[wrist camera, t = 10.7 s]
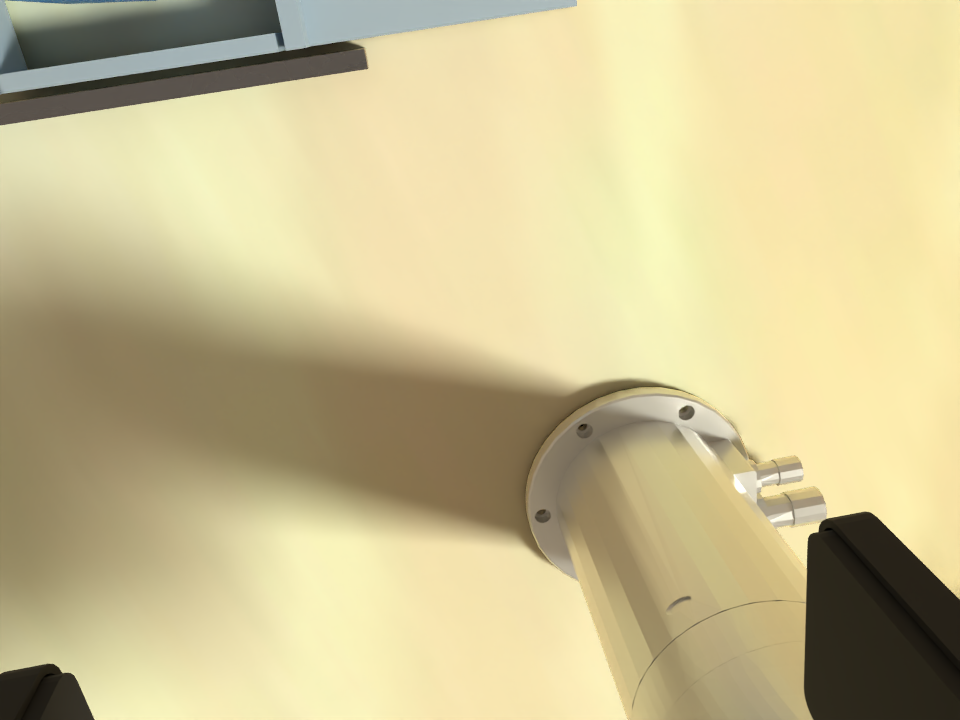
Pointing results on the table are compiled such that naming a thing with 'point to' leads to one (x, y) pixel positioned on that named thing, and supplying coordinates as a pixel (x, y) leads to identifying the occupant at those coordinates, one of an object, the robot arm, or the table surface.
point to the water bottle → (79, 1)
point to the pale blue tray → (268, 36)
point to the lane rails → (182, 86)
